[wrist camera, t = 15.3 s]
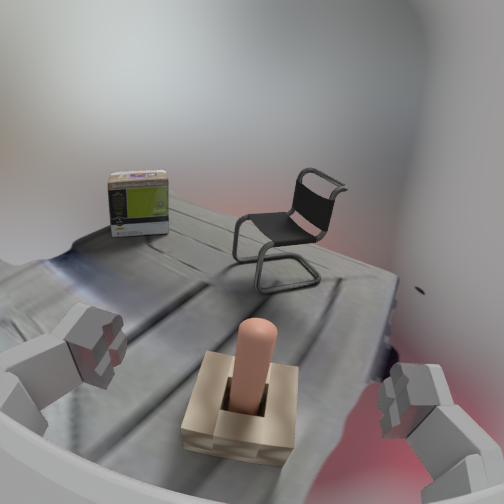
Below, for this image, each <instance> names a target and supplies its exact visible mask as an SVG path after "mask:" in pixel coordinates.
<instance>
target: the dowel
mask: <svg viewBox="0 0 504 504" xmlns="http://www.w3.org/2000/svg"><path fill="white" fill-rule="evenodd" d="M277 334H278V331H277V328H276V327H275V325H274V324H272V323H271V322H270V321H268V320H265V319H261V318H250V319H247V320H245V321H243V322H242V323H241V324H240V326H239V332H238V339H237V347H236V354H235V361H234V369H233V376H232V384H231V391H230V399H229V406H228V411H230V412H235V413H240V414H246V415H252V416H257V412H258V409H259V405H260V401H261V398H262V394H263V390H264V386H265V382H266V379H267V375H268V371H269V367H270V363H271V359H272V355H273V351H274V347H275V343H276V339H277Z"/></svg>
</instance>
